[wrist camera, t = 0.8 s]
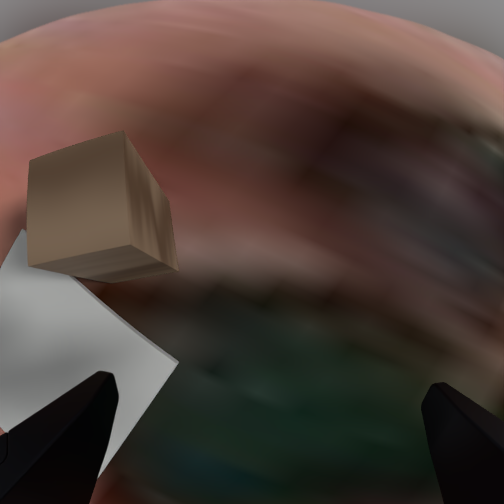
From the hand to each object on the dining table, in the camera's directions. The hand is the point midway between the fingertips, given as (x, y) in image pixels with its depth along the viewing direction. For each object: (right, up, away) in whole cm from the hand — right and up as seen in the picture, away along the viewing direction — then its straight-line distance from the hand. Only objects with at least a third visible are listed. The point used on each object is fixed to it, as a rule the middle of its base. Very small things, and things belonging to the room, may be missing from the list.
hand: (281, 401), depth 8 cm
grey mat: (-17, -5, +12) cm, 21 cm away
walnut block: (-9, +5, +14) cm, 17 cm away
